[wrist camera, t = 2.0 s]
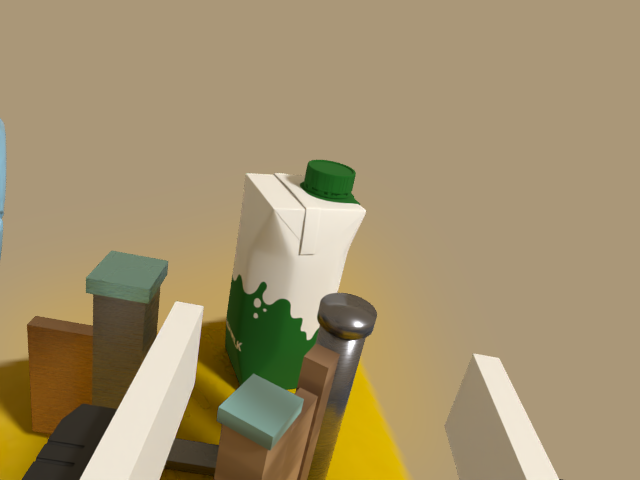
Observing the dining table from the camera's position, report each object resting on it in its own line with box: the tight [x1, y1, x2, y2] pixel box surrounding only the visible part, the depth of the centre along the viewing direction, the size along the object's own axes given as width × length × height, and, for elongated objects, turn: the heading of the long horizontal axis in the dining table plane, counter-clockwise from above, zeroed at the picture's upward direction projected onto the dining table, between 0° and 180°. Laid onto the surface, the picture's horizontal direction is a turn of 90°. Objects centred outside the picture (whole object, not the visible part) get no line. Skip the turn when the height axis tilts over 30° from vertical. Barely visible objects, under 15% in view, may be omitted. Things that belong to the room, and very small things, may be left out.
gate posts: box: [27, 251, 377, 480], centre depth 33 cm, size 21×4×15 cm, turn 89°
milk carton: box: [225, 160, 366, 390], centre depth 44 cm, size 9×9×20 cm
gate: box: [214, 343, 340, 480], centre depth 28 cm, size 9×3×14 cm, turn 154°
